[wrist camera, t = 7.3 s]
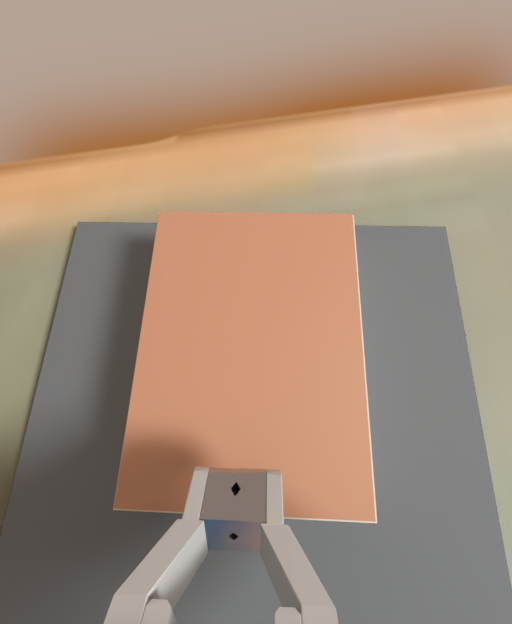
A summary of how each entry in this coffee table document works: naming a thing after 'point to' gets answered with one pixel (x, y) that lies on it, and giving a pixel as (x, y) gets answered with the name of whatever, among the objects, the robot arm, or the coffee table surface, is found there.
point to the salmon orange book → (252, 364)
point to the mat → (309, 533)
